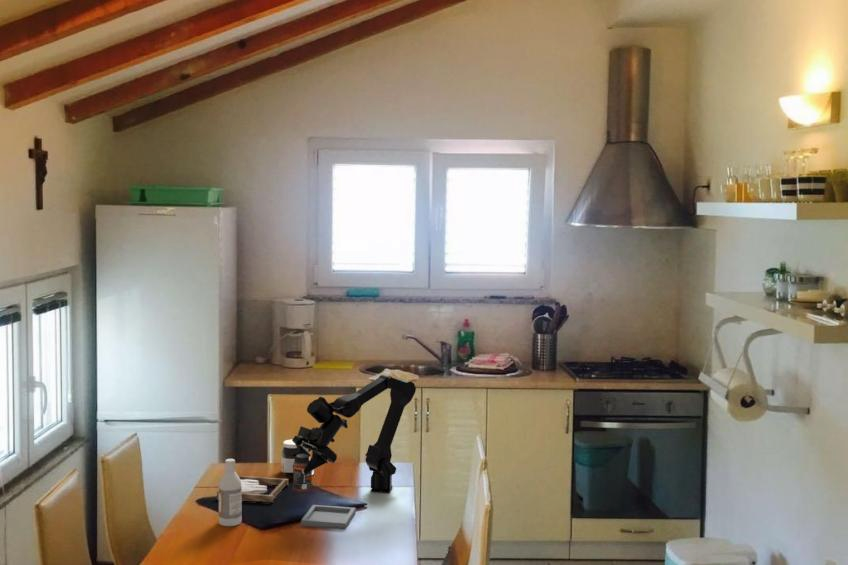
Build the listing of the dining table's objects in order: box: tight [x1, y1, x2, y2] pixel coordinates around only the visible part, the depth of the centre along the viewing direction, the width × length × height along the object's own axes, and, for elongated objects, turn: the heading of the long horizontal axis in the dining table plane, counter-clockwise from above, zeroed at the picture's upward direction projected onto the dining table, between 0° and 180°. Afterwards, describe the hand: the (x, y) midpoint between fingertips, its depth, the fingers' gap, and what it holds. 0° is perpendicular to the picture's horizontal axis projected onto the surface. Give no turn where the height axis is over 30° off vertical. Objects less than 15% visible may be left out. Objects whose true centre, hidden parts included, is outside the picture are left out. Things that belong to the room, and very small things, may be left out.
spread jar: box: [281, 438, 315, 477], centre depth 334 cm, size 12×11×12 cm
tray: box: [300, 504, 357, 530], centre depth 290 cm, size 14×14×2 cm
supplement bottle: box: [292, 454, 313, 493], centre depth 297 cm, size 6×6×11 cm
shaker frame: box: [216, 475, 289, 503], centre depth 313 cm, size 19×18×2 cm
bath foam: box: [218, 458, 243, 527], centre depth 284 cm, size 7×7×20 cm
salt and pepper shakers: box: [241, 479, 268, 495], centre depth 312 cm, size 12×4×11 cm
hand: (298, 470), depth 296 cm, fingers closed on supplement bottle, 6 cm apart
